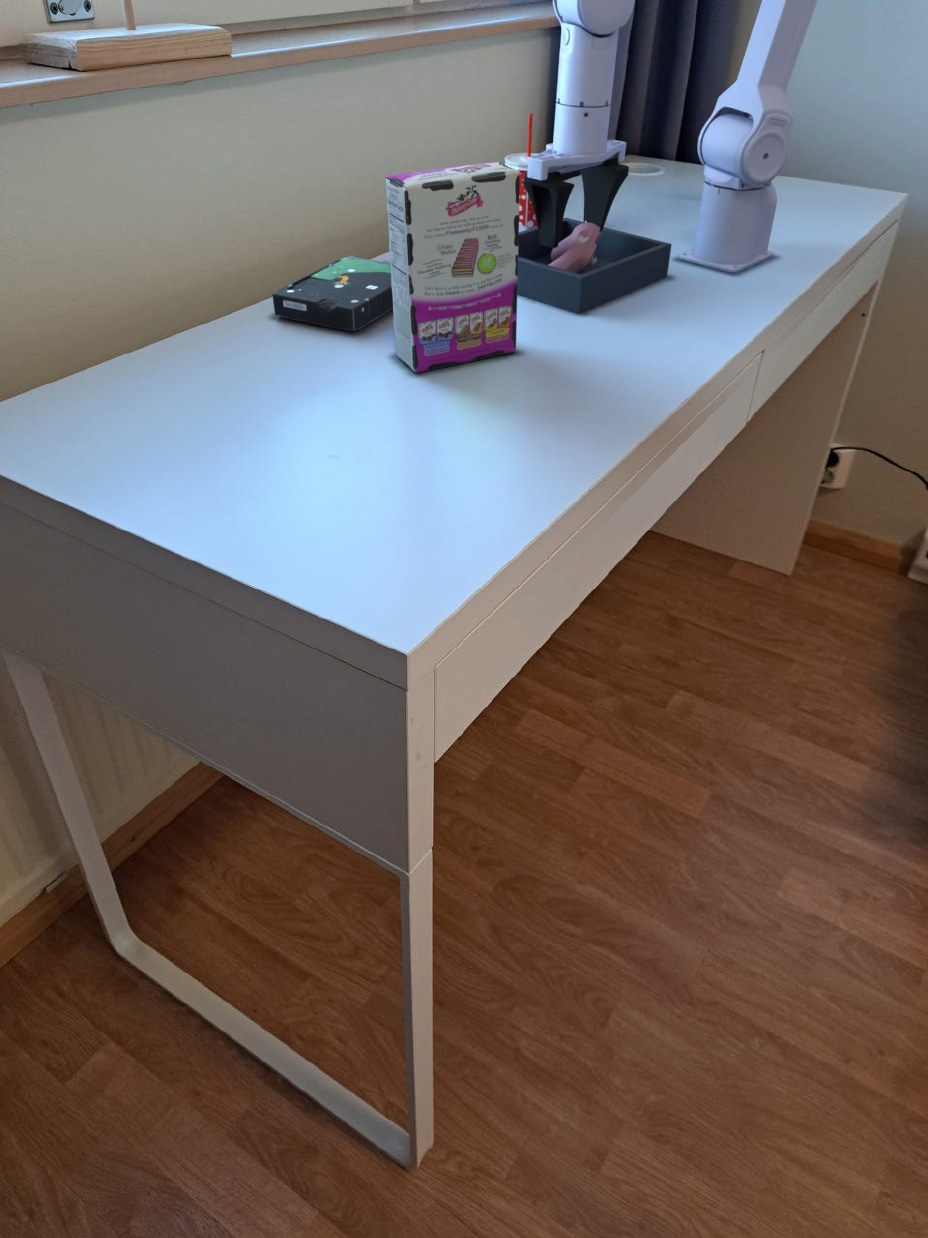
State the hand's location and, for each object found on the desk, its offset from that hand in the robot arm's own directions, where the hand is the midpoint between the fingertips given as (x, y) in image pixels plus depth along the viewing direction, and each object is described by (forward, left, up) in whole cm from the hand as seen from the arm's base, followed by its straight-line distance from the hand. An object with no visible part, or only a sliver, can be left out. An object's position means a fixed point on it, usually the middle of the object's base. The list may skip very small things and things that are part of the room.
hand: (571, 238), depth 104 cm
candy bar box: (+25, +6, -5) cm, 26 cm away
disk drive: (+23, -12, -5) cm, 26 cm away
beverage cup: (-11, -16, -5) cm, 20 cm away
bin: (0, 0, -5) cm, 5 cm away
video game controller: (0, 0, -4) cm, 4 cm away
